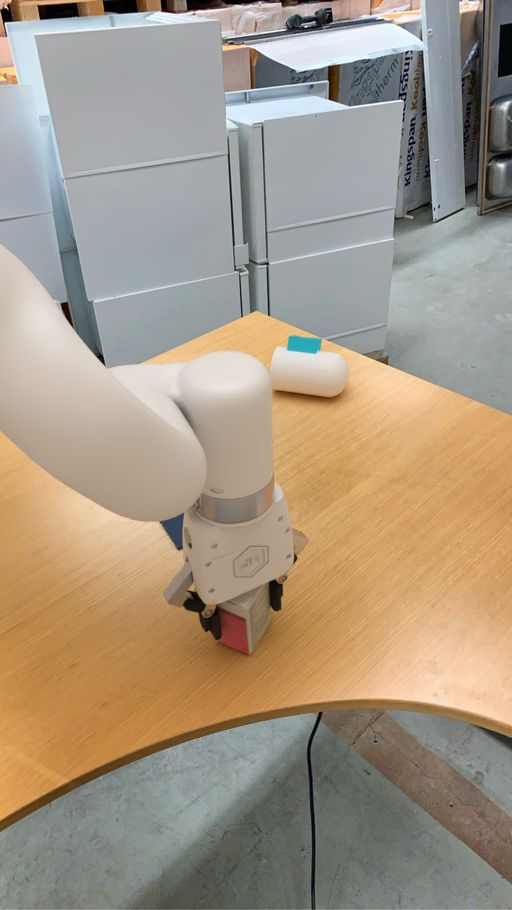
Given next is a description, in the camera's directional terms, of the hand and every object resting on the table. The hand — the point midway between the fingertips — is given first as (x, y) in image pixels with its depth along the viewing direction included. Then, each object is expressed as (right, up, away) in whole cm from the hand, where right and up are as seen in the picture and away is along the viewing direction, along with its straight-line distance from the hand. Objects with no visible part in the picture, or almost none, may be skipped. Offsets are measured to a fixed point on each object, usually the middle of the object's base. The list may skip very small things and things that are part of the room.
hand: (242, 614), depth 69 cm
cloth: (-8, +11, +19) cm, 24 cm away
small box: (0, -2, +2) cm, 3 cm away
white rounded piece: (+11, +28, +41) cm, 51 cm away
